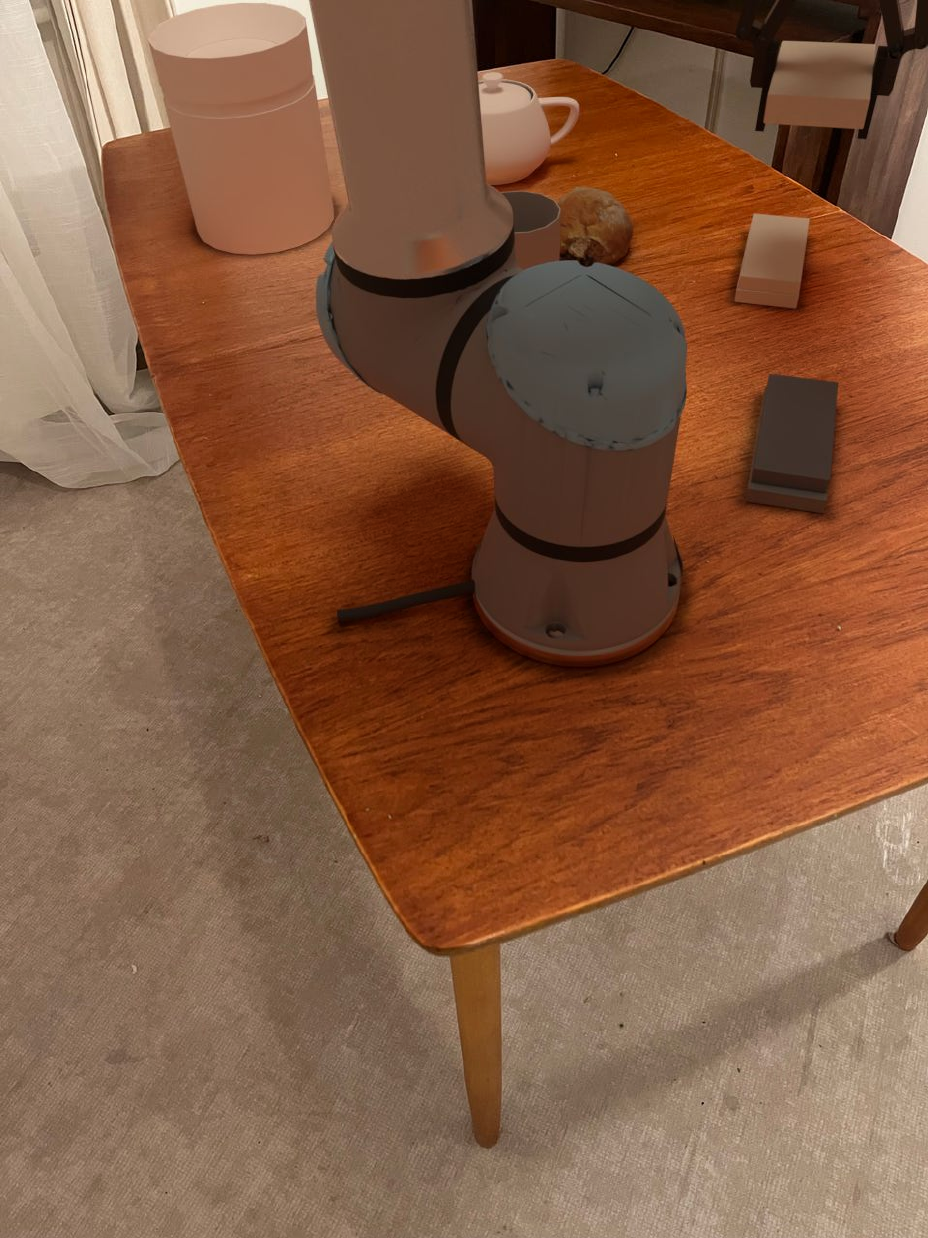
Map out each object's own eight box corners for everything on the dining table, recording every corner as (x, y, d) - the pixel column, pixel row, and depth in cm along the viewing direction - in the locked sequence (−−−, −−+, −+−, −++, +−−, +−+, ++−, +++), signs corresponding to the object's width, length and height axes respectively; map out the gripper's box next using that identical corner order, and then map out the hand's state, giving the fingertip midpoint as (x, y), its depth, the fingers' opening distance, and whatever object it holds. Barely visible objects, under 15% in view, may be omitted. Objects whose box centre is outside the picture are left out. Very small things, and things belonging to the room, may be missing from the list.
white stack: (795, 308, 97) (801, 282, 95) (734, 301, 98) (738, 276, 96) (805, 240, 106) (811, 215, 103) (748, 234, 107) (753, 209, 105)
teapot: (568, 138, 125) (571, 45, 117) (586, 186, 116) (591, 89, 108) (396, 153, 125) (388, 60, 117) (401, 202, 116) (392, 106, 107)
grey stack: (822, 513, 77) (831, 486, 75) (745, 501, 79) (751, 474, 77) (832, 408, 86) (839, 381, 84) (762, 399, 87) (768, 372, 85)
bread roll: (636, 282, 108) (661, 207, 104) (585, 280, 101) (611, 198, 97) (566, 254, 113) (588, 181, 109) (513, 250, 105) (534, 171, 101)
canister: (190, 201, 118) (142, 15, 103) (321, 179, 121) (292, -6, 106) (205, 265, 108) (153, 68, 93) (347, 239, 110) (319, 43, 95)
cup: (550, 333, 96) (553, 235, 88) (468, 327, 97) (463, 230, 90) (562, 288, 101) (565, 192, 94) (484, 283, 103) (481, 188, 95)
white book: (863, 129, 81) (870, 98, 79) (762, 123, 83) (767, 93, 81) (869, 72, 88) (876, 43, 86) (777, 68, 90) (782, 39, 88)
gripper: (1034, -211, 70) (936, 119, 87) (737, -209, 75) (699, 103, 92) (1040, -187, 66) (935, 156, 83) (724, -187, 71) (686, 137, 88)
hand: (811, 128), depth 87 cm, fingers closed on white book, 8 cm apart
